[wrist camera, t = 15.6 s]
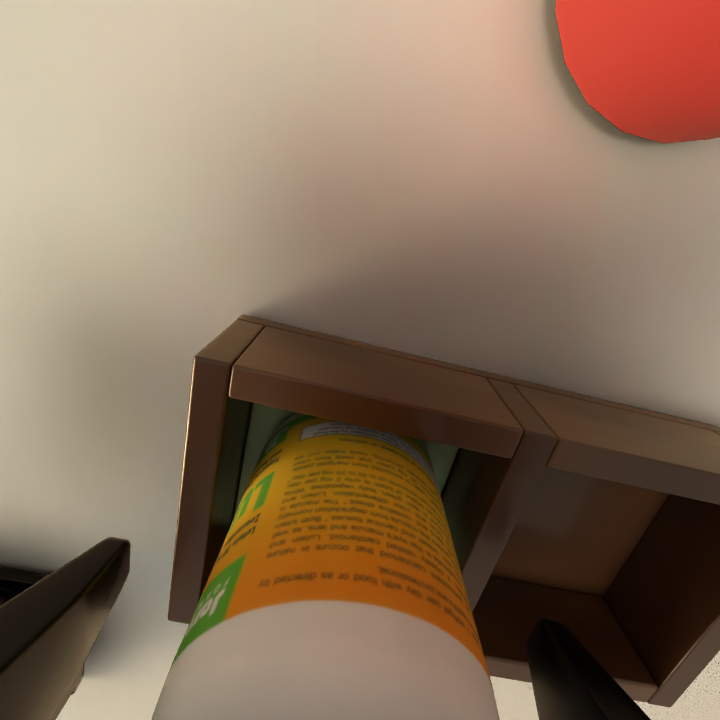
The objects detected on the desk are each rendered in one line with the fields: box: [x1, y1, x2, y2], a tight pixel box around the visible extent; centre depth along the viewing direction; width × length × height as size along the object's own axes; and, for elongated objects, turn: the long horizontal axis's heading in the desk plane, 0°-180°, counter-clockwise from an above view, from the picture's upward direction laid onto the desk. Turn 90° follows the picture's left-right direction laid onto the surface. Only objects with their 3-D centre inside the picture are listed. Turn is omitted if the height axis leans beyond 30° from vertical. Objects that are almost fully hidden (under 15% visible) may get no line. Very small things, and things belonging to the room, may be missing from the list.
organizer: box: [168, 315, 720, 707], centre depth 12 cm, size 15×8×4 cm, turn 76°
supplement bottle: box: [152, 413, 500, 720], centre depth 8 cm, size 5×5×10 cm
